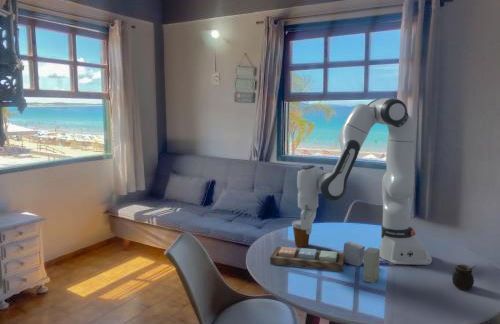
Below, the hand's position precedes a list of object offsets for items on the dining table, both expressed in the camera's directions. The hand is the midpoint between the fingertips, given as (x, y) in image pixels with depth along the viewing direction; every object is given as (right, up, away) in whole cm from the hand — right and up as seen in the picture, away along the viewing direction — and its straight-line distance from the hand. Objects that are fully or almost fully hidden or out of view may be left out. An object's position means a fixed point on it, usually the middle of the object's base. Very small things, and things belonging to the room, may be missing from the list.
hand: (309, 233), depth 169 cm
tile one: (+8, -12, -1) cm, 14 cm away
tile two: (0, -11, +2) cm, 11 cm away
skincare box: (+22, -15, -17) cm, 32 cm away
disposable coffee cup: (0, -10, +22) cm, 24 cm away
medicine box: (+19, -13, 0) cm, 23 cm away
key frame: (0, -13, +2) cm, 13 cm away
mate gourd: (+54, -16, -25) cm, 62 cm away
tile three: (-9, -11, +4) cm, 15 cm away
